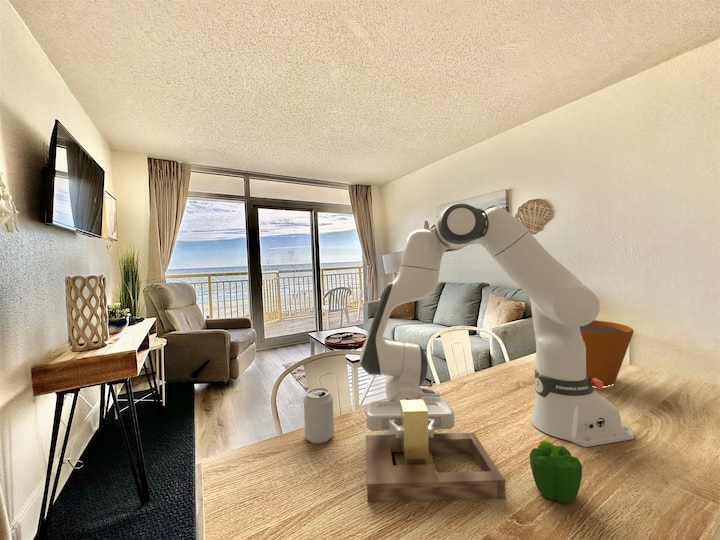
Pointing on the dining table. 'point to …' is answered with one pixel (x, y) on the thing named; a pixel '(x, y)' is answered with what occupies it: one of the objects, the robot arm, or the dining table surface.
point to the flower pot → (605, 349)
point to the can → (318, 415)
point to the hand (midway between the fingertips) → (414, 434)
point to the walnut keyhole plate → (430, 471)
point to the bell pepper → (556, 472)
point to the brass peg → (414, 434)
